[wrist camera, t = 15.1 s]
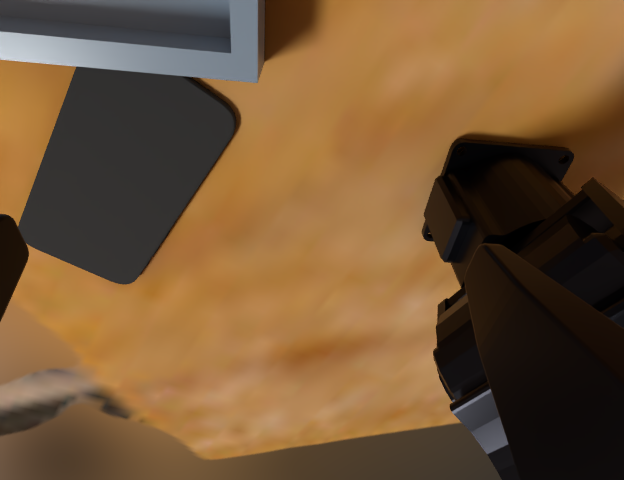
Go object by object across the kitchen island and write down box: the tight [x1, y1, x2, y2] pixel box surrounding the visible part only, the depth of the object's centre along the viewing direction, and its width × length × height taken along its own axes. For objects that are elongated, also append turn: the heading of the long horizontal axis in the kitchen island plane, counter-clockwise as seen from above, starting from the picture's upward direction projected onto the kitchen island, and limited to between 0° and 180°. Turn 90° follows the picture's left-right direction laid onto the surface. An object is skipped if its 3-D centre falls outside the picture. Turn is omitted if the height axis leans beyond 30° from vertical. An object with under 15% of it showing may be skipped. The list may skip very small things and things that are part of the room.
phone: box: [18, 66, 236, 284], centre depth 22 cm, size 7×1×15 cm
